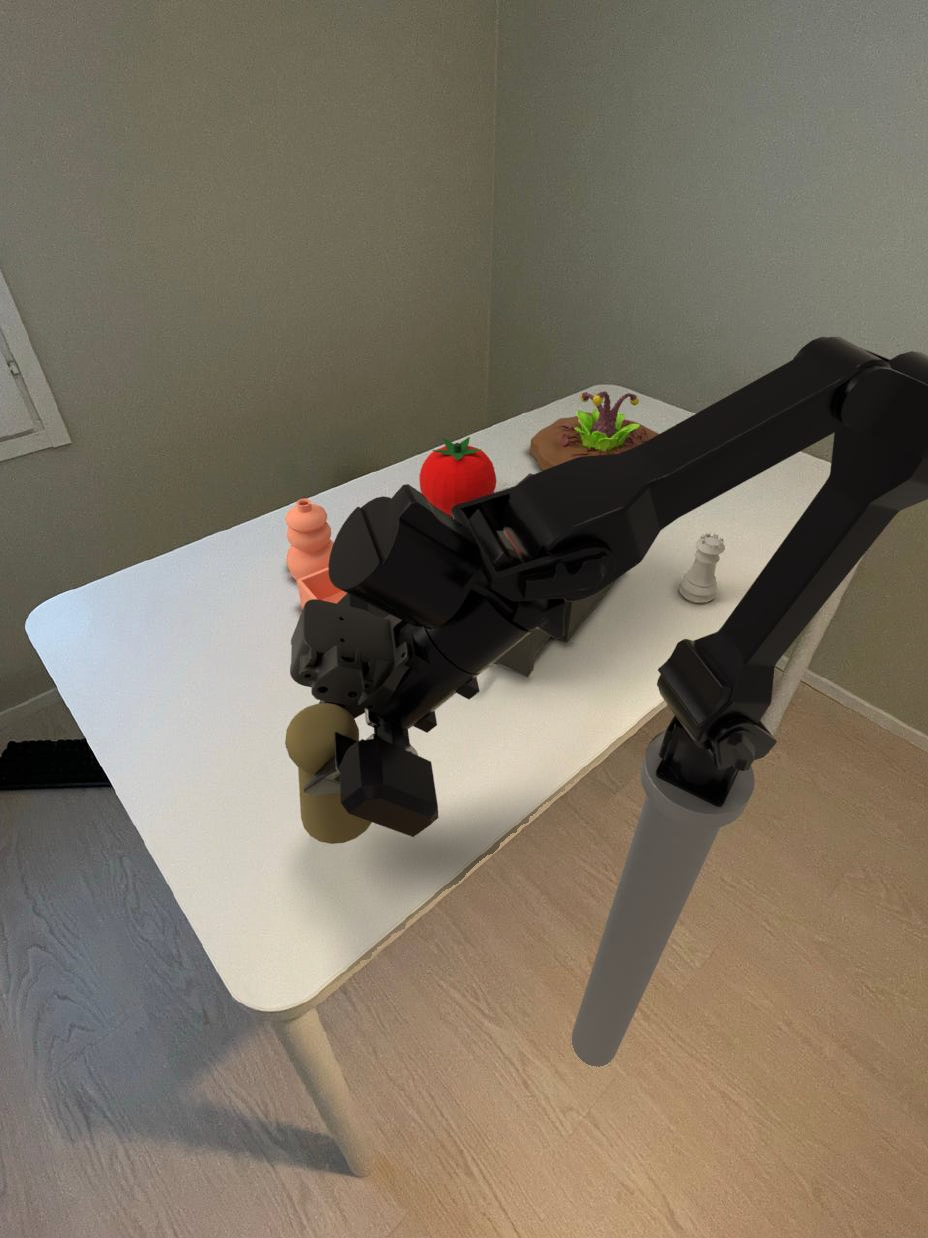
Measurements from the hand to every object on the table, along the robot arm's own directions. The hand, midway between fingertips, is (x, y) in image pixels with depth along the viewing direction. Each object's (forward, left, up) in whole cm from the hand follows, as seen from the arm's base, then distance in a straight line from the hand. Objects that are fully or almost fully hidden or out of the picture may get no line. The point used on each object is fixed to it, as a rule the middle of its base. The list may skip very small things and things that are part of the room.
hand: (308, 762), depth 52 cm
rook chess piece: (-15, -50, -12) cm, 53 cm away
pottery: (+21, -26, -12) cm, 36 cm away
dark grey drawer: (+1, -30, -11) cm, 32 cm away
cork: (-1, -1, -7) cm, 7 cm away
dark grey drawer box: (+1, -41, -12) cm, 43 cm away
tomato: (+19, -49, -12) cm, 54 cm away
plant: (+9, -73, -12) cm, 75 cm away
